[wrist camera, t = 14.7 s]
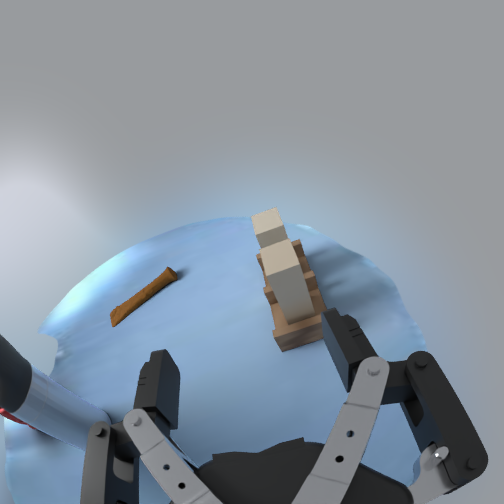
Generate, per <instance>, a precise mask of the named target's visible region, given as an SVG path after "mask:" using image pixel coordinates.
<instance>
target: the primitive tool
mask: <svg viewBox="0 0 504 504" xmlns="http://www.w3.org/2000/svg"><path fill="white" fill-rule="evenodd" d="M175 280H177V275H176V272H175V271H173V270H172V269H171V268H169V267H167V268H166V270H165V271H164V272H163V273H162V274H161V275H160V276H159V277H158V278H156V279H155V280H154V281H153V282H151V283H150V284H148V285H147V286H146V287H145V288H143V289H142V290H141V291H139V292H138V293H137V294H135V295H134V296H133V297H131V298H130V299H129V300H127V301H126V302H124V303H123V304H121V305H120V306H117V307H116V308H115V309H113V311H112V312H111V314H110V317H111V323H112V327H115V326H116V325H117V324H118V323H120V322H121V321H122V320H123V319H124V318H126V317H127V316H128V315H129V314H130V313H131V312H133V311H134V310H135V309H136V308H138V307H139V306H140V305H141V304H143V303H144V302H145V301H146V300H148V299H149V298H150V297H152V296H153V295H154V294H155V293H156V292H157V291H159V290H160V289H161V288H163V287H164V286H166V285H167V284H168V283H169V282H172V281H175Z"/></svg>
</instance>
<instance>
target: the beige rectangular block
mask: <svg viewBox="0 0 504 504" xmlns="http://www.w3.org/2000/svg"><path fill="white" fill-rule="evenodd" d="M259 250H260V254H261V258H262V262H263V266H264V270H265V273H266V277H267V279H268V281H269V283H270V286H271V288H272V290H273V292H274V294H275V297H276V299H277V301H278V303H279V305H280V308H281V310H282V312H283V314H284V317H285V319H286V321H287V323H288V325H291V324H294V323H297V322H300V321H303V320H306V319H309V318H311V317H314V316H316V315H315V311H314V308H313V305H312V301H311V298H310V295H309V291H308V288H307V285H306V282H305V279H304V275H303V272H302V269H301V266H300V263H299V261H298V258H297V256H296V253H295V251H294V248H293V246H292V244H291V241H290V239H286V240H284V241H281V242H278V243H275V244H273V245H270V246H267V247H265V248H262V249H259Z"/></svg>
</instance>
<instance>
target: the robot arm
mask: <svg viewBox="0 0 504 504" xmlns="http://www.w3.org/2000/svg"><path fill="white" fill-rule="evenodd" d="M321 322H322V332H323V338H324V341H325V344H326V346H327V348H328V351H329V353H330V355H331V357H332V360H333V362H334V364H335V366H336V368H337V371H338V373H339V375H340V378H341V380H342V382H343V384H344V387H345V389H346V391H347V393H348V392H350V393H349V396H348V398H347V401H346V402H345V403H344V404H343V406H342V408H341V410H340V412H339V415H338V417H337V420H336V422H335V424H334V426H333V429H332V431H331V433H330V435H329V437H328V440H327V442H326V444H322V443H316V442H304V438H303V437H302V438H299V439H295V440H291V441H287V442H282V443H279V444H277V445H275V446H273V447H271V448H268V449H266V450H264V451H261V452H259V453H247V452H228V453H220V454H212V456H213V460H211V461H209V462H207V463H205V464H203V465H202V466H200V467H199V466H198V465H196V464H195V463H194V462H193V461H192V460H191V459H190V458H189V457H188V456H187V455H186V453H185V452H184V451H183V450H182V449H181V448H180V447H179V445H178V444H177V443H176V442H175V441H174V440H173V438H172V437H171V436H170V430H174V429H178V407H179V391H180V372H179V369H178V367H177V365H176V364H175V362H174V361H173V359H172V357H171V356H170V354H169V353H168V351H167V350H166V349H164V350H158V351H153V352H151V356H150V361H149V362H145V364H144V365H143V367H142V369H141V371H140V375H139V380H138V386H137V391H136V396H135V402H134V407H133V410H131V411H129V412H128V413H127V414H126V415H125V417H124V420H123V421H121V422H119V423H116V424H113V425H111V420H110V418H109V416H108V415H107V413H106V412H104V411H103V410H101V409H99V408H97V407H96V406H94V405H92V404H90V403H89V402H87V401H85V400H84V399H82V398H80V397H79V396H77V395H75V394H74V393H72V392H71V391H69V390H68V389H66V388H64V387H63V386H61V385H60V384H58V383H57V382H55V381H54V380H53V379H51V378H50V377H48V376H47V375H45V374H44V373H42V372H41V371H40V370H38V369H37V368H36V367H35V366H33V365H32V364H31V363H29V362H28V361H27V360H26V359H24V358H23V357H22V356H21V355H20V354H19V353H18V352H17V351H16V349H15V348H14V347H13V346H12V345H11V344H10V343H9V342H8V341H7V340H6V339H5V338H4V337H2V336H1V335H0V407H1V408H2V409H4V410H6V411H7V412H9V413H10V414H12V415H14V416H15V417H17V418H19V419H20V420H22V421H24V422H26V423H27V424H29V425H31V426H33V427H35V428H37V429H38V430H40V431H42V432H44V433H46V434H48V435H50V436H52V437H54V438H56V439H59V440H61V441H63V442H65V443H67V444H70V445H72V446H74V447H77V448H79V449H82V450H84V451H86V452H85V460H84V467H83V476H82V486H81V499H80V504H139V457H140V458H141V460H142V461H143V463H144V464H145V466H146V467H147V468H148V470H149V471H150V473H151V474H152V475H153V477H154V478H155V479H156V481H157V482H158V483H159V485H160V486H161V487H162V488H163V490H164V491H165V492H166V493H167V495H168V496H169V497H170V498H171V500H172V501H171V502H170V503H169V504H425V503H427V502H429V501H431V500H433V499H435V498H436V497H438V496H440V495H445V494H449V493H451V492H453V491H455V490H457V489H458V488H460V487H462V486H464V485H466V484H467V483H469V482H471V481H472V480H474V479H475V478H477V477H479V476H480V475H481V474H482V473H483V472H484V471H485V469H486V467H487V464H488V455H487V453H486V450H485V448H484V446H483V444H482V442H481V440H480V438H479V436H478V434H477V432H476V430H475V428H474V426H473V424H472V422H471V420H470V418H469V417H468V415H467V413H466V411H465V409H464V407H463V406H462V404H461V402H460V400H459V398H458V397H457V395H456V393H455V392H454V390H453V388H452V386H451V385H450V383H449V381H448V380H447V378H446V376H445V375H444V373H443V372H442V370H441V368H440V367H439V365H438V363H437V362H436V360H435V359H434V357H433V356H432V355H431V354H430V353H428V352H425V351H417V352H414V353H412V354H411V355H410V356H409V357H408V359H407V360H405V361H397V362H389V361H386V360H385V359H383V358H381V357H379V356H378V355H377V354H376V352H375V350H374V349H373V347H372V346H371V344H370V342H369V341H368V339H367V337H366V336H365V334H364V332H363V331H362V329H361V328H360V326H359V324H358V323H357V321H356V320H355V319H354V318H352V317H351V316H349V315H348V314H347V315H344V316H340V314H339V313H338V311H337V309H336V308H332V309H329V310H326V311H323V312H321ZM392 403H400V405H401V408H402V410H403V412H404V414H405V417H406V419H407V421H408V423H409V426H410V428H411V430H412V433H413V435H414V437H415V440H416V442H417V445H418V447H419V450H420V452H421V455H420V456H419V457H418V458H417V459H416V461H415V463H414V465H413V473H414V478H413V481H412V483H411V485H410V486H409V487H406V486H405V485H404V484H402V483H401V482H398V481H396V480H394V479H392V478H390V477H388V476H386V475H383V474H381V473H379V472H377V471H375V470H373V469H371V468H369V467H367V466H365V465H363V464H362V463H360V462H361V460H362V457H363V455H364V452H365V450H366V447H367V444H368V441H369V439H370V436H371V433H372V430H373V427H374V424H375V421H376V418H377V415H378V412H379V409H380V405H384V404H392Z"/></svg>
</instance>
